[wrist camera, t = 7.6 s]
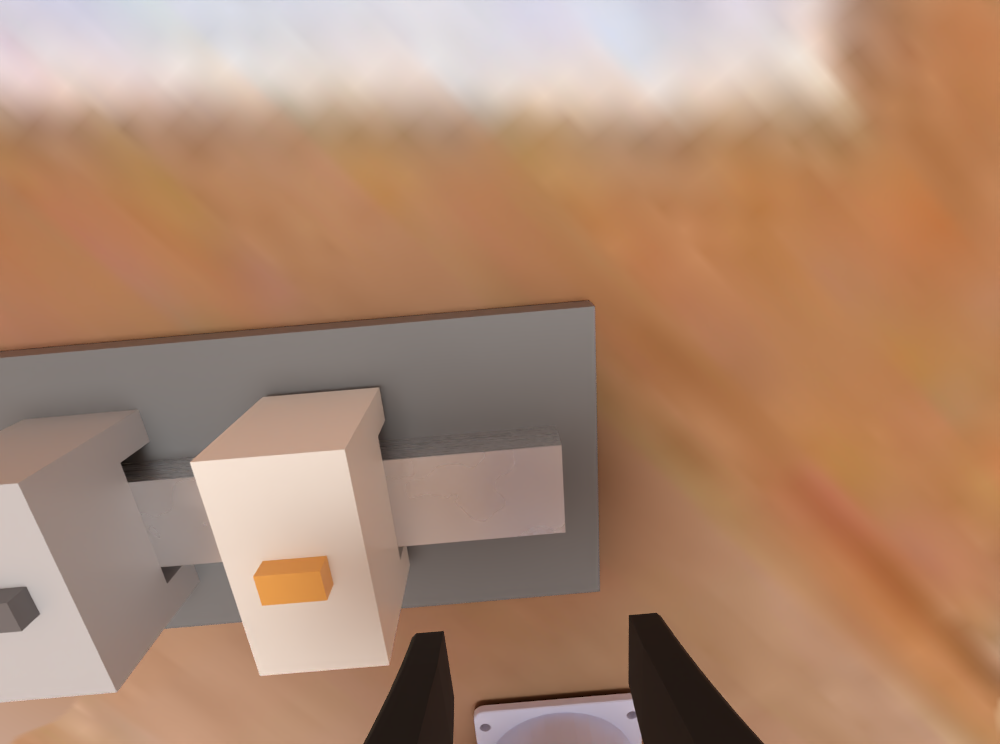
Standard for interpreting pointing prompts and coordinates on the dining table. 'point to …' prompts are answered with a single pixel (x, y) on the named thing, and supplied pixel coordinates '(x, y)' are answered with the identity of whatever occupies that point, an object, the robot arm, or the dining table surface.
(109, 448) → the module
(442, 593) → the mounting board
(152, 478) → the din rail
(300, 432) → the din module
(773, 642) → the dining table surface
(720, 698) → the robot arm
